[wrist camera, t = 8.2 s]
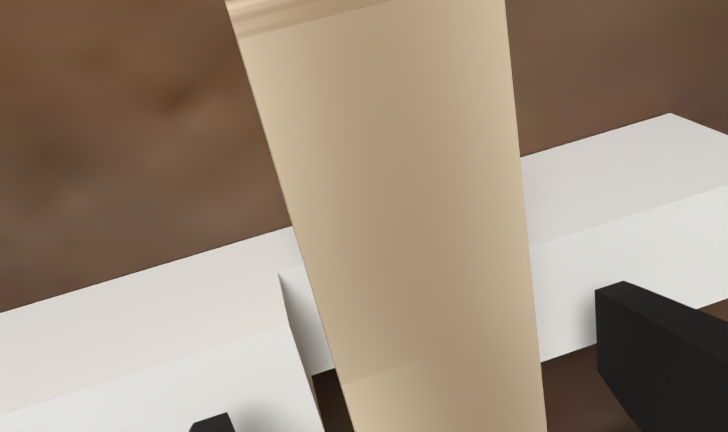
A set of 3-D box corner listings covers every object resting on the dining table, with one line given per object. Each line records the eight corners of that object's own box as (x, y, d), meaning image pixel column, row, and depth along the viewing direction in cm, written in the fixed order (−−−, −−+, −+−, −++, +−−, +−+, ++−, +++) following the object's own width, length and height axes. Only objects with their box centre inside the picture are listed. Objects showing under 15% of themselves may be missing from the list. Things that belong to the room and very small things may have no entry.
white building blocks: (39, 411, 16) (-8, 550, 12) (-18, 318, 14) (-90, 444, 11) (667, 210, 18) (782, 279, 14) (670, 112, 16) (797, 162, 13)
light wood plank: (361, 456, 19) (438, 708, 13) (220, -13, 13) (237, 40, 6) (452, 424, 19) (569, 655, 13) (359, -47, 13) (501, -29, 7)
